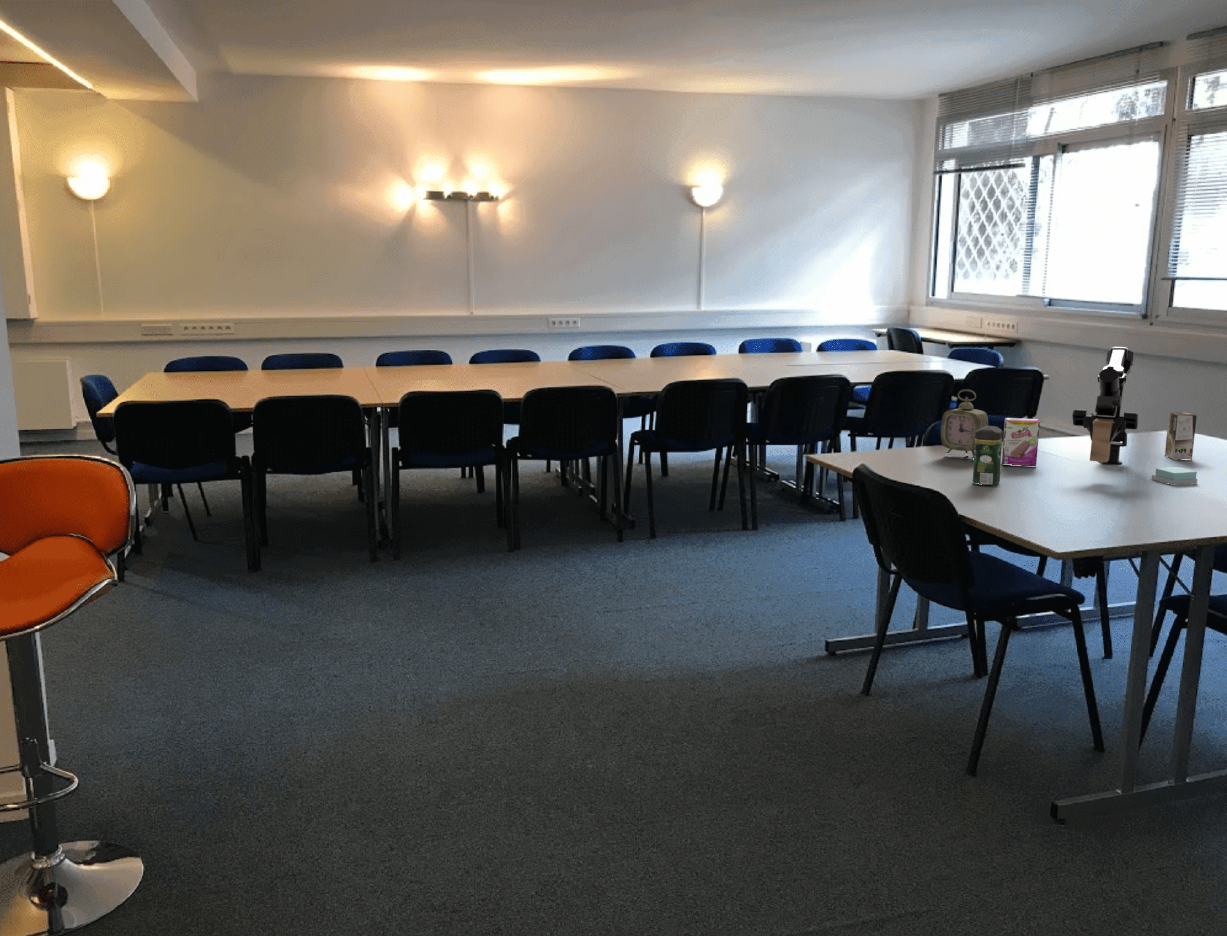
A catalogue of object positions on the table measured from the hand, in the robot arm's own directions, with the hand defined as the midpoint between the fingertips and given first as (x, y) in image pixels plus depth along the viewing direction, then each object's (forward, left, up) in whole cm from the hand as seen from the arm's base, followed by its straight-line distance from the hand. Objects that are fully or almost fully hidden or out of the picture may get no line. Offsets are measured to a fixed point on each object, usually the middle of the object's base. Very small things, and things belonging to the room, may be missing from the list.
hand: (1101, 440), depth 310 cm
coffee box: (-42, +40, -14) cm, 59 cm away
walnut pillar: (-1, 0, -7) cm, 7 cm away
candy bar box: (-24, -18, -14) cm, 33 cm away
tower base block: (-2, +23, -14) cm, 27 cm away
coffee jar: (+6, -35, -14) cm, 39 cm away
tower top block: (-2, +24, -12) cm, 27 cm away
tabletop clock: (-37, -34, -14) cm, 52 cm away
